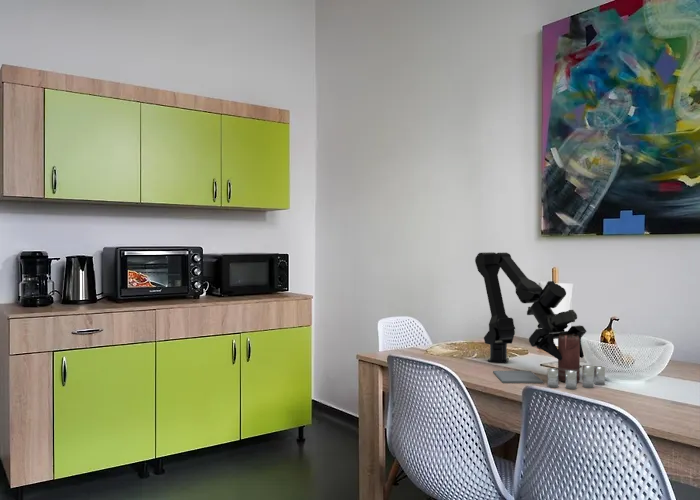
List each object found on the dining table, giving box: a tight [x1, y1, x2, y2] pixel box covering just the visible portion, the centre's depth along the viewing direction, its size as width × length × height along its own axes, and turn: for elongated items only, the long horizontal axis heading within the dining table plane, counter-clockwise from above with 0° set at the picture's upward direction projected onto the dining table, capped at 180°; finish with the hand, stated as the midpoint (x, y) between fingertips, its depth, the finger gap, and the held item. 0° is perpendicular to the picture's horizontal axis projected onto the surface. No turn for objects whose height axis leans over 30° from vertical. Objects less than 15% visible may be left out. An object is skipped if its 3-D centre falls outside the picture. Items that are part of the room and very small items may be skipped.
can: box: [557, 334, 581, 384], centre depth 174 cm, size 6×6×14 cm
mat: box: [492, 370, 544, 384], centre depth 179 cm, size 14×12×1 cm
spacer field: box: [547, 364, 606, 390], centre depth 170 cm, size 8×21×6 cm, turn 114°
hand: (572, 358), depth 173 cm, fingers open, 8 cm apart
